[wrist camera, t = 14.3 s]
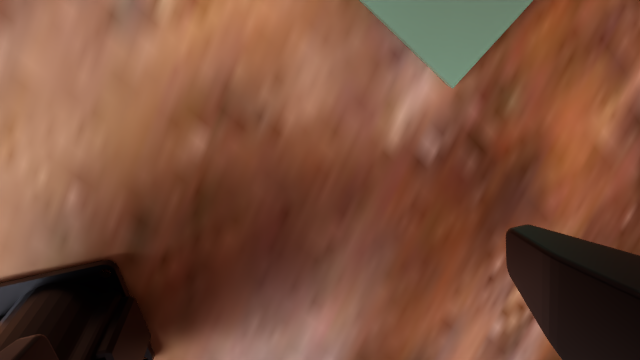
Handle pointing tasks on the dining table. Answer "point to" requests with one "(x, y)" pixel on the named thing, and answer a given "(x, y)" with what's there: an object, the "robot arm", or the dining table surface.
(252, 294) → the dining table surface
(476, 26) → the circuit board
